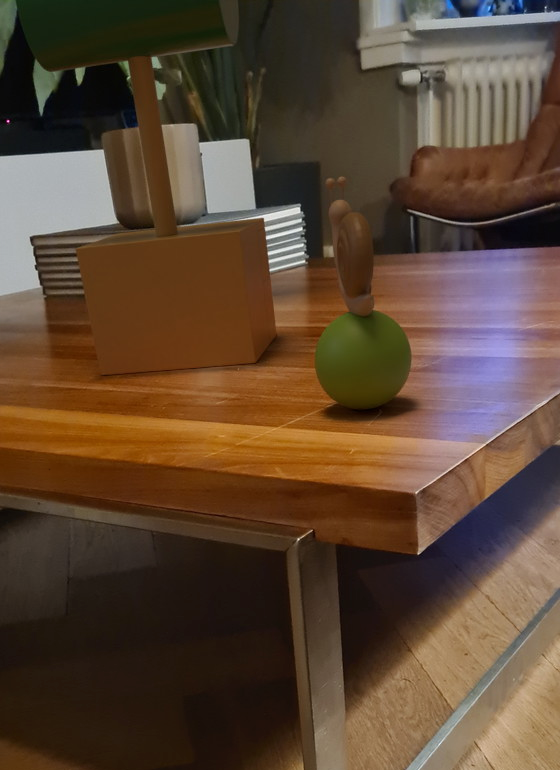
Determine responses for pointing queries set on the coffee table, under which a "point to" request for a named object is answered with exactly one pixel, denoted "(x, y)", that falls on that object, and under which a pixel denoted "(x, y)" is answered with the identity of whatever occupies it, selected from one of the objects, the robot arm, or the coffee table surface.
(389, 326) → the snail figurine
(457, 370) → the coffee table surface
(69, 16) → the lamp
